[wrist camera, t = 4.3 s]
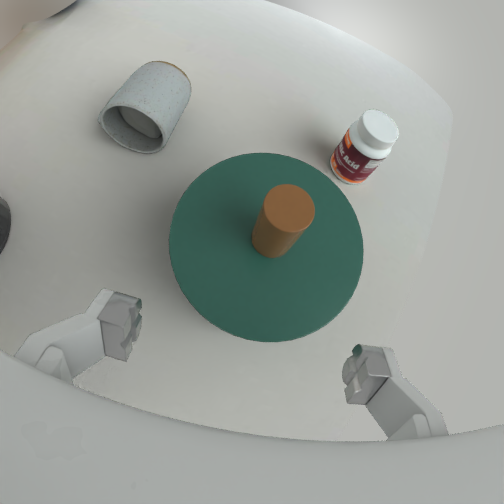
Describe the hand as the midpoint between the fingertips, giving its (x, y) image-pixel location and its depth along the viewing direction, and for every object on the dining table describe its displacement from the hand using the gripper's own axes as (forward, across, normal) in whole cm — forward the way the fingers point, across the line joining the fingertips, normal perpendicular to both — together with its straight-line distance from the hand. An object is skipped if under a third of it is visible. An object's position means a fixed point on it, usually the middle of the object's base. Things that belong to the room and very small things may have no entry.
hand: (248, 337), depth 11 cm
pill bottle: (+26, -9, -2) cm, 28 cm away
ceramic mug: (+26, +15, -2) cm, 30 cm away
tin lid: (+10, -1, +1) cm, 10 cm away
